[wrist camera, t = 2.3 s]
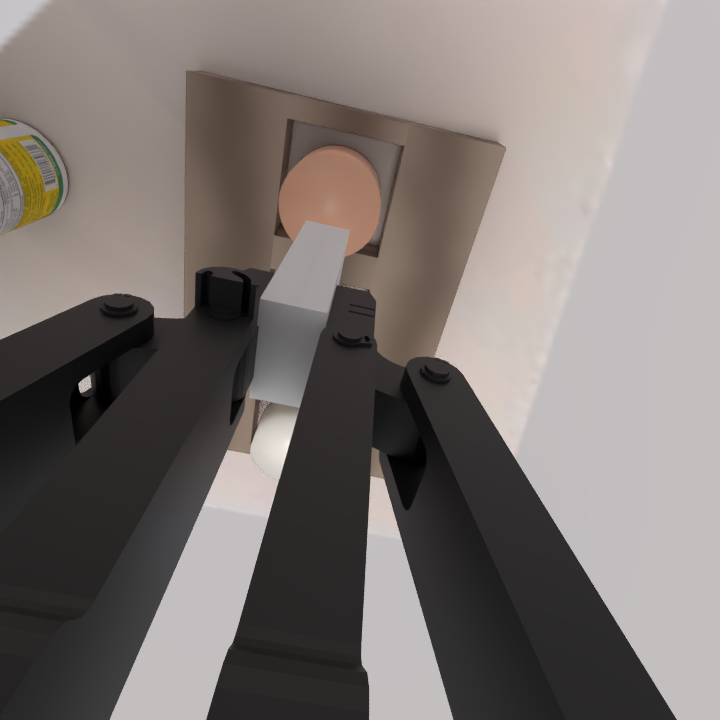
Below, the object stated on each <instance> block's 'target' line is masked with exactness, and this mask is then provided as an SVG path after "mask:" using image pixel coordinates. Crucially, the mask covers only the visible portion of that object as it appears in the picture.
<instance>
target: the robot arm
mask: <svg viewBox="0 0 720 720" xmlns="http://www.w3.org/2000/svg"><path fill="white" fill-rule="evenodd" d="M349 232H350V230H347V229H343V228H339V227H334V226H330V225H325V224H321V223H317V222H312V221H308V220H306V222H305V224H304V225H303V227H302V229H301V230H300V232H299V234H298V235H297V237H296V239H295V240H294V242H293V244H292V246H291V247H290V249H289V251H288V252H287V254H286V256H285V257H284V259H283V261H282V262H281V264H280V266H279V267H278V269H277V271H276V272H275V273H273V272H268V271H263V270H259V269H254V268H249V269H246V270H243V271H242V270H239V269H236V268H229V267H208V268H203V269H201V270H199V271H197V272H196V273H195V307H194V308H193V309H192V310H191V312H190V313H189V314H188V315H187V316H186V318H183V319H170V318H154V307H153V306H152V304H151V303H150V302H149V301H147V300H145V299H143V298H140V297H136V296H132V295H129V294H124V295H122V294H113V295H105V296H101V297H97V298H94V299H91V300H89V301H87V302H84V303H82V304H80V305H78V306H75V307H73V308H71V309H69V310H66V311H64V312H62V313H60V314H57V315H55V316H53V317H51V318H48V319H46V320H44V321H42V322H39V323H37V324H35V325H33V326H30V327H28V328H26V329H24V330H21V331H19V332H17V333H15V334H12V335H10V336H8V337H6V338H3V339H1V340H0V720H110V717H111V715H112V712H113V710H114V708H115V705H116V703H117V701H118V699H119V696H120V694H121V691H122V689H123V687H124V685H125V682H126V680H127V678H128V676H129V673H130V671H131V668H132V666H133V664H134V662H135V660H136V657H137V655H138V653H139V650H140V648H141V646H142V643H143V641H144V639H145V637H146V634H147V632H148V629H149V627H150V625H151V623H152V621H153V618H154V616H155V614H156V611H157V609H158V607H159V604H160V602H161V600H162V598H163V595H164V593H165V591H166V589H167V586H168V584H169V581H170V579H171V577H172V575H173V572H174V570H175V568H176V566H177V563H178V561H179V559H180V556H181V554H182V552H183V550H184V547H185V545H186V543H187V540H188V538H189V536H190V534H191V531H192V529H193V526H194V524H195V522H196V520H197V517H198V515H199V513H200V511H201V508H202V506H203V504H204V501H205V499H206V497H207V495H208V492H209V490H210V488H211V485H212V483H213V481H214V479H215V476H216V474H217V472H218V469H219V467H220V465H221V462H222V460H223V458H224V456H225V453H226V451H227V449H228V446H229V444H230V442H231V440H232V437H233V435H234V433H235V430H236V428H237V426H238V424H239V421H240V419H241V417H242V414H243V412H244V408H245V398H246V392H247V390H248V388H249V386H250V384H251V388H250V397H249V398H253V399H257V400H262V401H267V402H272V403H277V404H282V405H287V406H292V407H297V408H299V412H298V415H297V419H296V422H295V426H294V429H293V433H292V437H291V440H290V444H289V447H288V451H287V454H286V458H285V461H284V465H283V469H282V472H281V476H280V479H279V483H278V486H277V490H276V493H275V497H274V501H273V504H272V508H271V511H270V515H269V518H268V522H267V526H266V529H265V533H264V536H263V540H262V543H261V547H260V550H259V554H258V558H257V561H256V565H255V569H254V572H253V575H252V579H251V583H250V586H249V590H248V593H247V597H246V600H245V604H244V607H243V611H242V615H241V618H240V622H239V625H238V628H237V632H236V635H235V638H234V641H233V643H232V645H231V646H230V647H229V649H228V652H227V654H226V657H225V660H224V662H223V665H222V669H221V672H220V675H219V678H218V682H217V685H216V688H215V692H214V695H213V699H212V702H211V706H210V709H209V712H208V716H207V720H369V684H368V676H367V672H366V670H365V669H364V668H363V666H362V662H361V640H362V621H363V603H364V584H365V564H366V547H367V529H368V510H369V492H370V473H371V455H372V447H373V448H375V449H377V450H379V462H380V465H381V469H382V472H383V476H384V479H385V483H386V486H387V490H388V493H389V497H390V500H391V504H392V507H393V511H394V514H395V518H396V521H397V525H398V528H399V532H400V535H401V538H402V542H403V545H404V549H405V552H406V556H407V559H408V563H409V566H410V570H411V573H412V577H413V580H414V584H415V587H416V591H417V594H418V598H419V600H420V605H421V608H422V612H423V615H424V618H425V622H426V625H427V629H428V632H429V636H430V639H431V643H432V646H433V650H434V653H435V657H436V660H437V664H438V667H439V670H440V674H441V678H442V681H443V684H444V688H445V692H446V695H447V698H448V702H449V705H450V709H451V712H452V716H453V719H454V720H677V719H676V718H675V716H674V715H673V713H672V711H671V710H670V708H669V707H668V705H667V703H666V702H665V700H664V698H663V697H662V695H661V694H660V692H659V691H658V689H657V687H656V686H655V684H654V682H653V681H652V679H651V677H650V676H649V674H648V673H647V671H646V670H645V668H644V666H643V665H642V663H641V661H640V660H639V658H638V657H637V655H636V653H635V652H634V650H633V648H632V647H631V645H630V644H629V642H628V640H627V639H626V637H625V635H624V634H623V632H622V631H621V629H620V627H619V626H618V625H617V623H616V621H615V619H614V618H613V616H612V615H611V613H610V611H609V610H608V608H607V606H606V605H605V603H604V602H603V600H602V598H601V597H600V595H599V594H598V592H597V590H596V589H595V587H594V585H593V584H592V583H591V581H590V579H589V577H588V576H587V574H586V573H585V571H584V569H583V568H582V566H581V564H580V563H579V561H578V560H577V558H576V556H575V555H574V553H573V551H572V550H571V548H570V547H569V545H568V543H567V542H566V540H565V539H564V537H563V535H562V534H561V532H560V530H559V529H558V527H557V526H556V524H555V523H554V521H553V519H552V518H551V516H550V514H549V513H548V511H547V510H546V508H545V506H544V505H543V503H542V502H541V500H540V498H539V497H538V495H537V493H536V492H535V490H534V489H533V487H532V485H531V484H530V482H529V480H528V479H527V477H526V476H525V474H524V472H523V471H522V469H521V468H520V466H519V464H518V463H517V461H516V459H515V458H514V456H513V455H512V453H511V451H510V450H509V448H508V447H507V445H506V443H505V442H504V440H503V438H502V437H501V435H500V434H499V432H498V430H497V429H496V427H495V426H494V424H493V422H492V421H491V419H490V417H489V416H488V414H487V413H486V411H485V409H484V408H483V406H482V405H481V403H480V401H479V400H478V398H477V396H476V395H475V393H474V392H473V390H472V388H471V387H470V385H469V384H468V382H467V380H466V379H465V377H464V375H463V374H462V373H461V372H460V371H459V370H458V369H457V368H456V367H454V366H452V365H451V364H449V363H448V362H446V361H444V360H441V359H439V358H432V357H416V358H413V359H410V360H409V362H408V363H407V364H406V367H403V366H400V365H398V364H395V363H393V362H391V361H389V360H388V359H386V358H385V357H383V356H382V355H381V354H380V353H379V352H378V351H377V342H376V339H375V338H374V329H375V314H376V300H375V299H374V297H373V296H372V295H371V293H370V292H366V291H361V290H356V289H352V288H347V287H343V286H339V282H340V277H341V272H342V267H343V262H344V257H345V252H346V247H347V242H348V237H349ZM89 375H90V377H91V386H92V387H91V388H90V389H88V390H87V391H85V392H83V393H80V391H79V386H78V383H79V382H80V381H81V380H83V379H84V378H85V377H87V376H89Z"/></svg>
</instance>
